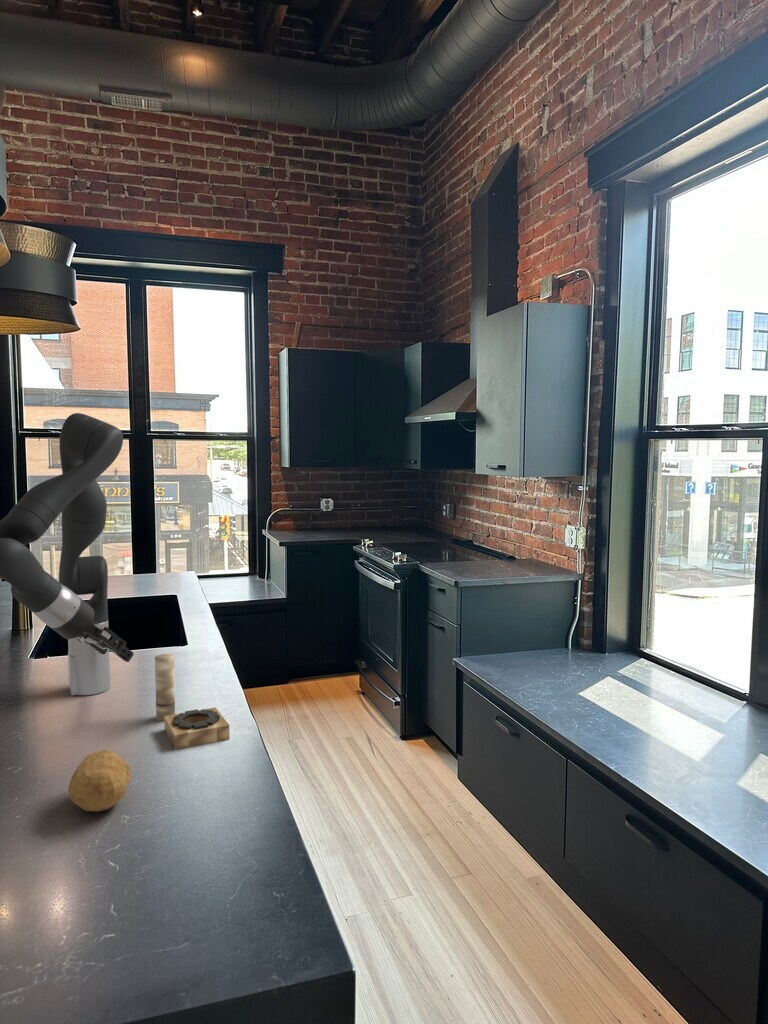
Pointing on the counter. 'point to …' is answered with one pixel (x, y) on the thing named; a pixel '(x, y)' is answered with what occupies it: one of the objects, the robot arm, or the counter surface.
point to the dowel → (164, 686)
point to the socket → (196, 728)
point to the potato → (99, 781)
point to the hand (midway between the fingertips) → (118, 654)
